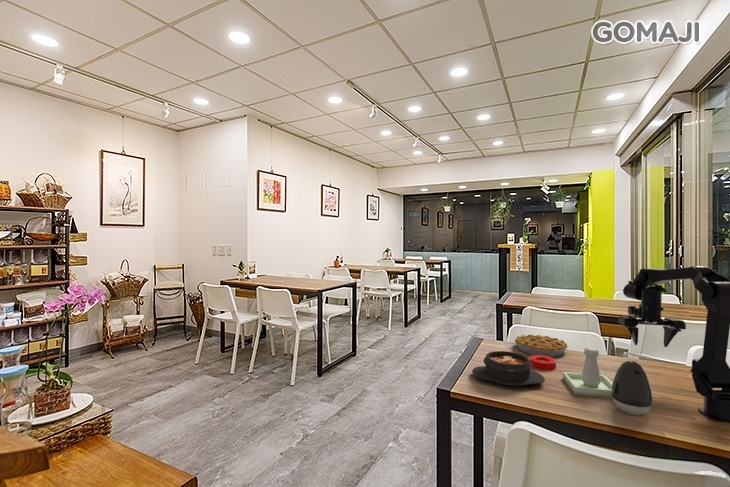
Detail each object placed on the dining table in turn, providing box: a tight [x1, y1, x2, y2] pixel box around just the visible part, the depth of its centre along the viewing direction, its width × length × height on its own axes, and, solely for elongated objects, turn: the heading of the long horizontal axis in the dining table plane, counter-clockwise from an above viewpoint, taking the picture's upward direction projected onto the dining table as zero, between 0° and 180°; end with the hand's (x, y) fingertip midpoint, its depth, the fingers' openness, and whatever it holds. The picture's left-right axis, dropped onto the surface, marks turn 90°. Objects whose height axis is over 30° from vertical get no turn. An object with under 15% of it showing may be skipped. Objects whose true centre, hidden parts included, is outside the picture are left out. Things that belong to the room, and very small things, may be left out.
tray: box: [562, 371, 613, 399], centre depth 124 cm, size 14×14×2 cm
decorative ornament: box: [529, 354, 557, 371], centre depth 145 cm, size 10×10×3 cm
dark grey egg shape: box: [611, 360, 654, 416], centre depth 108 cm, size 10×10×15 cm
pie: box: [514, 334, 569, 358], centre depth 165 cm, size 22×22×5 cm
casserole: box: [471, 350, 546, 387], centre depth 132 cm, size 25×19×8 cm
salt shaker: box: [581, 347, 601, 388], centre depth 124 cm, size 6×6×13 cm
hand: (650, 345), depth 129 cm, fingers open, 9 cm apart
